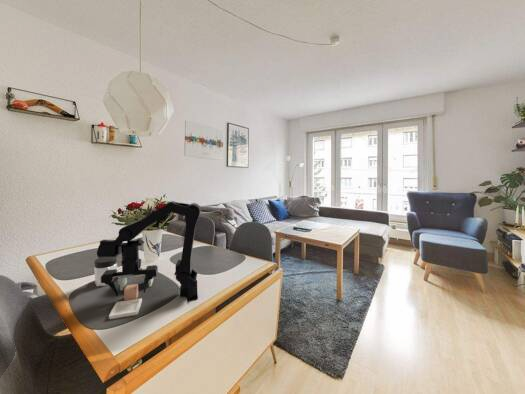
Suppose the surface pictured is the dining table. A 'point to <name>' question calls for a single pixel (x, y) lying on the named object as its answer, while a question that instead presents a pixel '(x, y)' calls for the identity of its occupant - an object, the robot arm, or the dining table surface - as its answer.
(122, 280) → the cover
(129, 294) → the block
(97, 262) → the jar
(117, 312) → the dish
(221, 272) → the dining table surface
